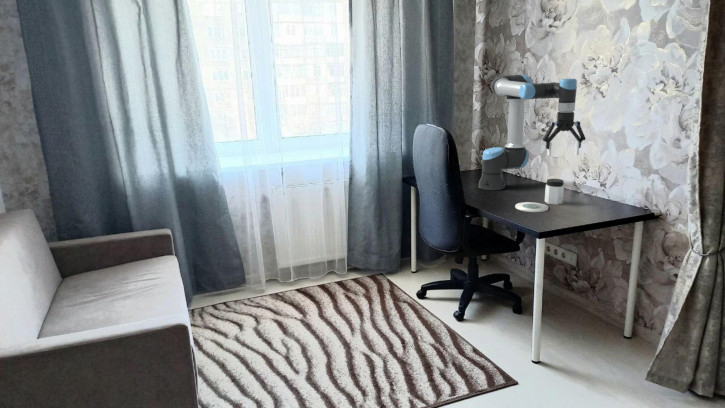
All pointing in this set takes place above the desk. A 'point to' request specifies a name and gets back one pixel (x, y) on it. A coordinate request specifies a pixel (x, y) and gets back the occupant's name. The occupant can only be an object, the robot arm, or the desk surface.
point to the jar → (554, 191)
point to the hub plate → (531, 207)
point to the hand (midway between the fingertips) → (562, 155)
